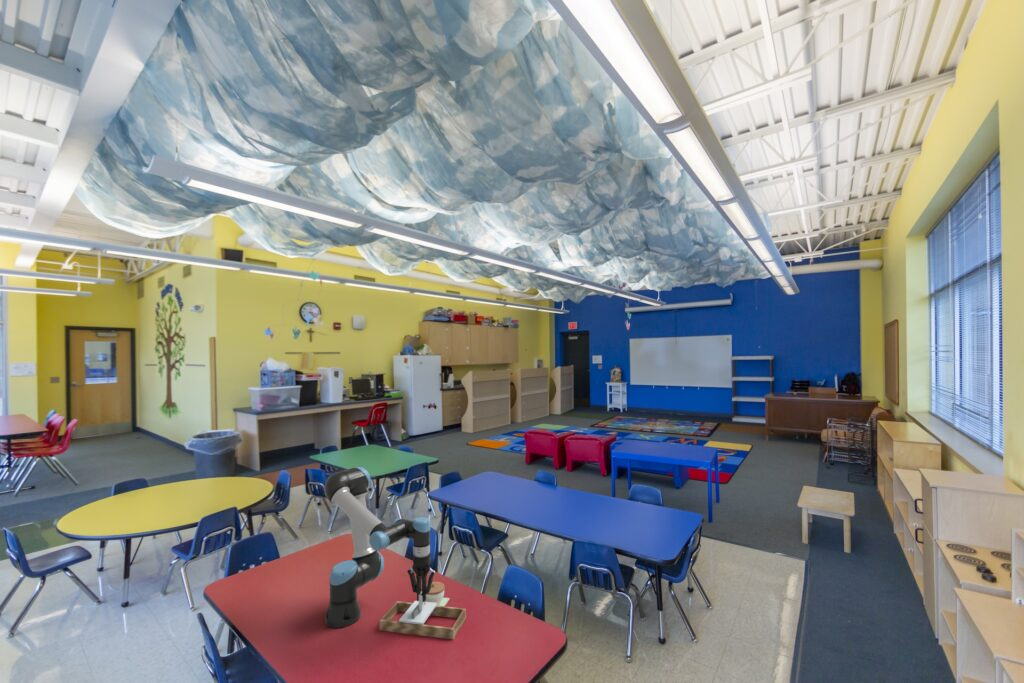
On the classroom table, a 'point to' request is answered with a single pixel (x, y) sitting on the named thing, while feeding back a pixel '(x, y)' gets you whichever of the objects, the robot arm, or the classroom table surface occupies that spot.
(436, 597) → the lidded jar
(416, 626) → the wooden rectangular frame
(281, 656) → the classroom table surface
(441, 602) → the mat
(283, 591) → the classroom table surface
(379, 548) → the robot arm
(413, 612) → the lid
